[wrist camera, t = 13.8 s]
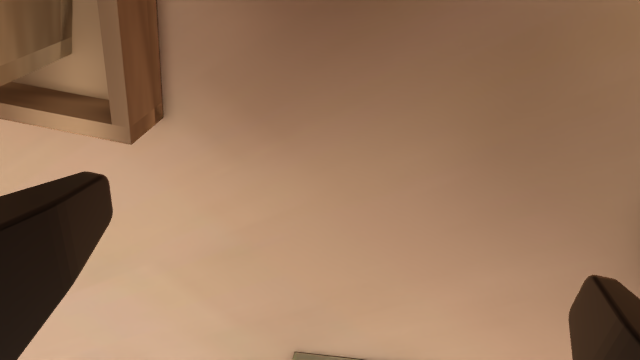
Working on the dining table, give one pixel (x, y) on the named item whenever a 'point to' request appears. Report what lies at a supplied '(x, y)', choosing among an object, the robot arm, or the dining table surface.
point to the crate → (96, 76)
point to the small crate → (33, 35)
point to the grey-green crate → (316, 357)
